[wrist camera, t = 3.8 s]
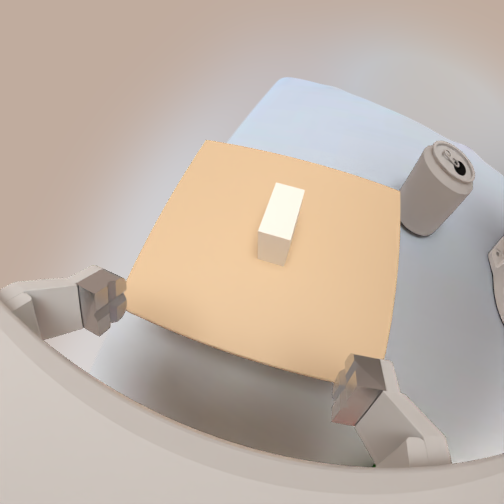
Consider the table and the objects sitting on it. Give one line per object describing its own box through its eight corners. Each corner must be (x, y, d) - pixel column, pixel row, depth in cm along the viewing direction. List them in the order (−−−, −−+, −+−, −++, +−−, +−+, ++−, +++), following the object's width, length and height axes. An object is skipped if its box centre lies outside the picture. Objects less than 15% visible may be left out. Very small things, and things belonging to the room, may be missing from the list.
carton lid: (209, 156, 28) (200, 108, 22) (390, 205, 25) (417, 163, 19) (129, 312, 21) (88, 286, 15) (363, 388, 18) (405, 390, 12)
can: (424, 249, 31) (476, 197, 20) (383, 214, 33) (422, 151, 22) (440, 216, 33) (482, 165, 22) (403, 185, 35) (436, 127, 24)
